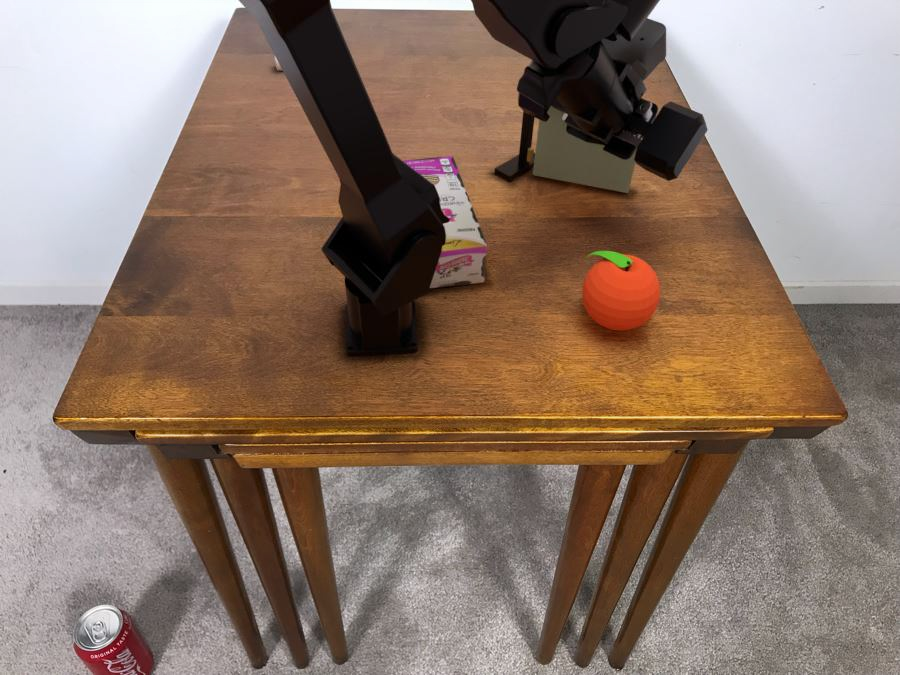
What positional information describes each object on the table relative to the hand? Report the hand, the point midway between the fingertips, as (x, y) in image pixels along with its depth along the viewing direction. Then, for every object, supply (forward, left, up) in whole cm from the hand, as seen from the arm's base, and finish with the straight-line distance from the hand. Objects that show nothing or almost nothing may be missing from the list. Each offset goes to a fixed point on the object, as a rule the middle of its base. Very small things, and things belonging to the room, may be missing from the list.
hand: (628, 145), depth 77 cm
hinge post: (+6, +10, -6) cm, 14 cm away
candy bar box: (+2, +24, -4) cm, 25 cm away
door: (+3, +4, -6) cm, 8 cm away
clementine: (-20, +6, -7) cm, 21 cm away
